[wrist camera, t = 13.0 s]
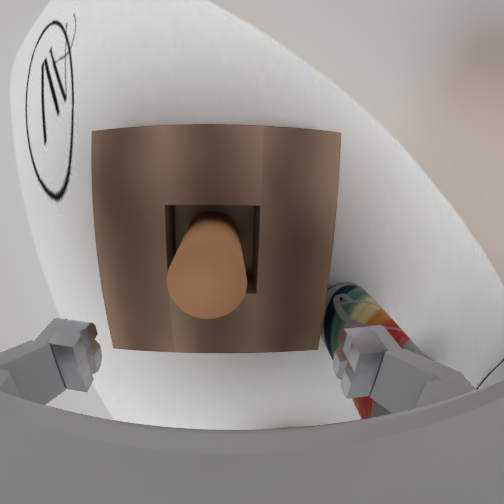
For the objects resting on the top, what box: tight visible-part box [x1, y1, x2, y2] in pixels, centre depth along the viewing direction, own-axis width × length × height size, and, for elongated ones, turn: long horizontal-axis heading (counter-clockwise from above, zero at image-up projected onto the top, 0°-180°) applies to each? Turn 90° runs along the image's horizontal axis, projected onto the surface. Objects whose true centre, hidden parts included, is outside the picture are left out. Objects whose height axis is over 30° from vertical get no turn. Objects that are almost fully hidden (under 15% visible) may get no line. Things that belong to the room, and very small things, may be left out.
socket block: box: [92, 124, 341, 353], centre depth 22 cm, size 16×16×5 cm
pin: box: [167, 211, 247, 319], centre depth 19 cm, size 4×4×9 cm
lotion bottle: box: [320, 284, 427, 419], centre depth 18 cm, size 6×6×20 cm
